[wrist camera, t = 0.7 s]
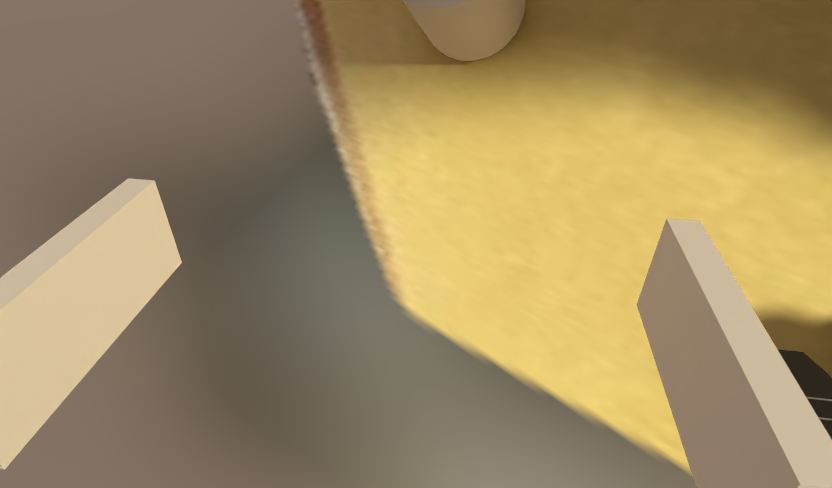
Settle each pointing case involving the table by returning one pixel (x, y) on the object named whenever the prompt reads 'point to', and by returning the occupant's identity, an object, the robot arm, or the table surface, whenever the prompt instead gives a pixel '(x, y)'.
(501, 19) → the can
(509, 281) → the table surface
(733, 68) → the table surface
